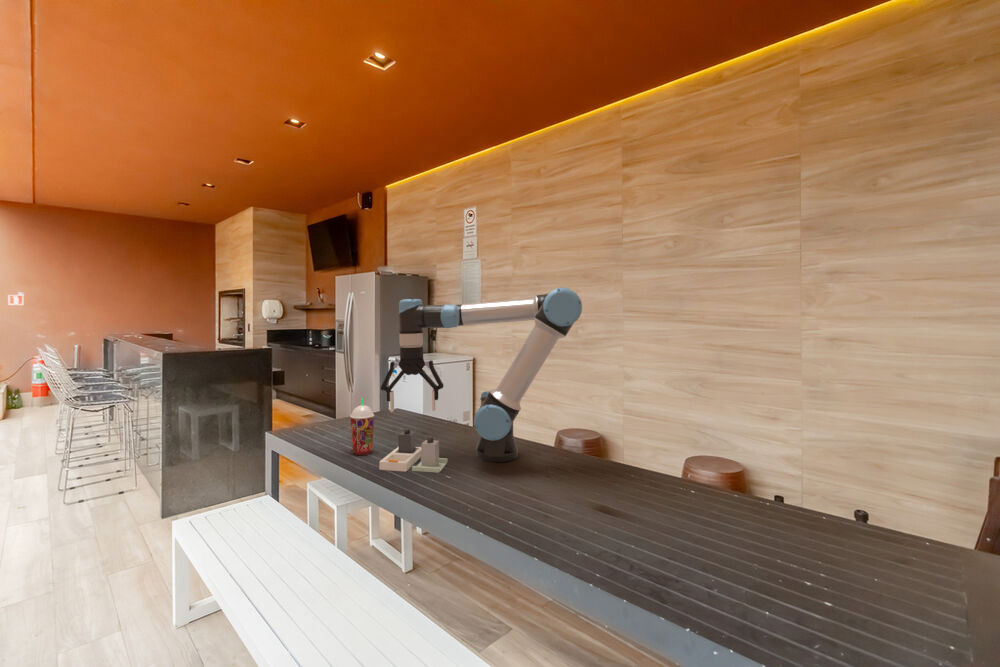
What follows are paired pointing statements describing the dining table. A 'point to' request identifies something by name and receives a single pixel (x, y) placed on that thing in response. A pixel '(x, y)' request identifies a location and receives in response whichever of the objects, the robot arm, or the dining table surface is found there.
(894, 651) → the dining table surface
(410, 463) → the cream rectangular tray
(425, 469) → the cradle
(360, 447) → the smoothie
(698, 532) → the dining table surface
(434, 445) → the plug
